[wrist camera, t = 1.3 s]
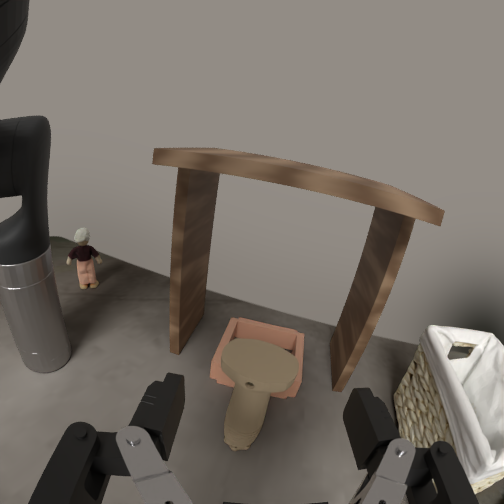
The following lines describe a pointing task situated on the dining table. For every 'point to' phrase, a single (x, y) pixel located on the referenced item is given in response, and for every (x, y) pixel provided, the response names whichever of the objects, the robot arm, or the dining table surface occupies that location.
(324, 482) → the dining table surface
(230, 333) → the socket
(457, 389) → the storage basket
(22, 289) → the robot arm
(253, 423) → the handle
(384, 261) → the wooden footstool
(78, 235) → the grandmother figurine
